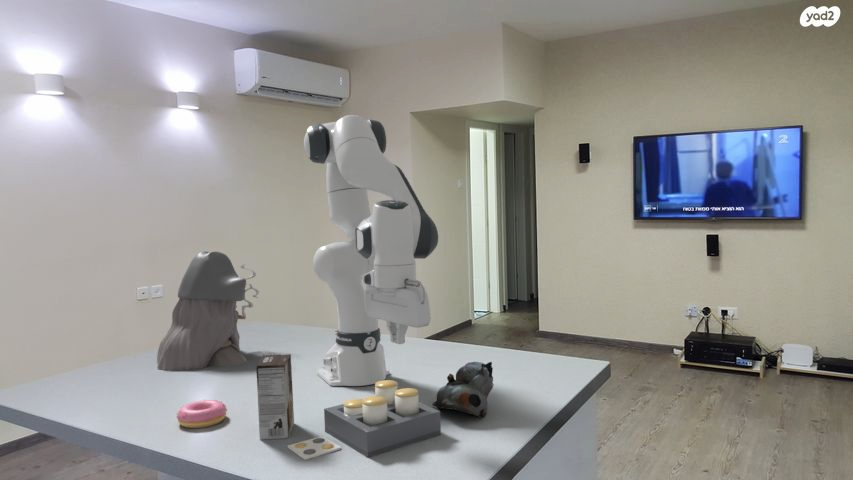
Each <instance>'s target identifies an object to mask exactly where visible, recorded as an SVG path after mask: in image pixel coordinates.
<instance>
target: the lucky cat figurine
mask: <svg viewBox="0 0 853 480" xmlns="http://www.w3.org/2000/svg"><path fill="white" fill-rule="evenodd" d="M492 365H493V363H492V361H489V362H487V363H484V362H481V361H471V362H467V363H466V364H465V365H463V366H461V367H460V368H459V369H458V370H457V371H456V373H455V376H454V374H452V373H449V374H448V376H446V379H447V383H446V384H445V385H444V386H441V387H440V388H439V390H438V391H437V395H436V400H435V401H433V402H432V404H431V406H433V407H436V408H437V410H441V409H445V410H447V409H448V410H455V411H460V412H463V413H466V414H470V415H472V416H473V415H474V416H476V417H480V418H481V419H482V418H484V417H485V416H487V412H488V405H489V404H488V397H489V395H490V392H491V391H492V390H493V388H494V383H493V382H494V377H493V370H494V369H493V368H494V367H492Z"/></svg>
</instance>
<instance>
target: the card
mask: <svg viewBox="0 0 853 480" xmlns="http://www.w3.org/2000/svg"><path fill="white" fill-rule="evenodd" d="M287 448H288V449H289V450H291V451H292V452H293V453H294V454H295V455H297V456H299V457H300V458H301V459H303V460H304V461H306V460H309V459H313V458H316V457H319V456H320V457H321V456H323V455H326V454H330V453H333V452H336V451H339V450H342V446H340V445H338V444H336V442H334V441H332V440H331V439H329V438H327V437H325V436H324V435H320V436H318V437H314V438H309V439H306V440H303V441H299V442H297V443H292V444H289V445H287Z"/></svg>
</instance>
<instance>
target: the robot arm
mask: <svg viewBox="0 0 853 480" xmlns="http://www.w3.org/2000/svg"><path fill="white" fill-rule="evenodd" d="M387 142H388V137H387V132H386V130H385V127H384V125H383V124H382V123H381V122H380V121H379V120H374V119H367V120H366V119H365V118H364V117H362V116H360V115H356V114H347V115H345V116H344V115H343V116H342V117H340V118H339V119H338V120H337V121H332V122H326V123H315V124H312V125H310V126H308V128H307V129H306V130H305V135H304V137H303V148H304V150H305V153H306V154H307V157H308V159H309V161H311V162H312V163H315V164H321V165H322V164H323V165H324V164H326V169H325V171H326V173H325V174H326V177H325V178H326V179H325V180H326V181H325V182H326V183H325V184H326V195H327V199H328V200H327V201H328V209H329V217H330V221H331V223H332V224H333V225H335V226H336V227H337V228H340V229H341V230H342V231H343V232H344V233H345V235H346V237H347V239H348V241H338V242H332V243H329V244H326V245H324V246H323V245H322V246H320V247H318V249H316V252H315V253H314V255H313V259H312V267H313V272H314V274H315V275H316V277H317V278H318V279H319V280H320V281H322V282H324V283H323V284H326V285H327V286H328V288H329V290H330V291H331V293H332V295H333V297H334V299H335V302H336V308H337V321H338V330H335V331H334V332H335V344H333V345H332V347H331V348H329V350H328V351H327V352H326V353H325V356H324V357H323V359H322V360H323V365H324V367H321V368H319V369H318V370H316V374H317V375H318V376H319V377H320V378H321V379H322V380H323V381H324V382H326V384H328V385H329V386H333V387H339V386H340V387H341V386H345V387H346V386H347V387H362V386H363V387H364V386H369V385H375V383H376V382H378V381H383V380H387V376H388V375H389V374H390V369H389V368H387V366H386V358H385V349H384V346H383V345H382V344H381V343H380V342H381V336H382V335H381V334H382V333H381V329H380V327H379V320H381V321H386V327H387V330H388V332H389V335H390V342H391V343H394V344H397V345H403V344H405V343H406V334H407V331H408V328H409V327H411V328H415V329H419V328H424V327H428V326H429V325H430V323H431V318H432V317H431V308H430V307H431V306H430V302H429V296H428V292H427V291H426V287H424V285H423V284H422V282H421V281H420V280H417V271H416V270H417V267H416V260H417V259H419V260H420V259H422V260H423V259H424V260H425V259H427V258H428V257H429V256H430V255H431V254H432V253H433V252H434V251H435V250H436V249H437V246H438V245H439V232H438V228H437V226H436V223H435V221H434V220H433V219H432V218H431V217H430V215H429V214H428V212H427V211H426V210H425V209H424V207H423V206H422V203H421V202H420V200H419V198H418V196H417V194H416V193H415V191H414V188H413V187H412V185H411V184H410V182H409V180H408V178H407V176H406V175H405V173H404V172H403V170H402V169H401V168H400V167H399V166H397V165H396V164H395V163H393V162H391V161H390V160H389V159H388V158H387V157H386V156H385V152H386V148H387V144H388V143H387ZM368 191H372V192H377V193H380V194H383V195H386V196H387V197H389V198H390V200H389V199H388V200H387V199H386V200H381V201H378V202H376V203H374V204H373V208H372V213H371V208H370V202H369V196H368V195H369V194H368ZM363 285H365V287H363Z"/></svg>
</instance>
